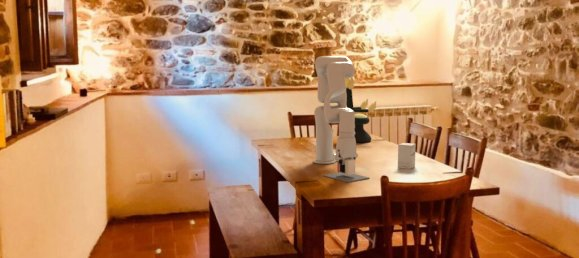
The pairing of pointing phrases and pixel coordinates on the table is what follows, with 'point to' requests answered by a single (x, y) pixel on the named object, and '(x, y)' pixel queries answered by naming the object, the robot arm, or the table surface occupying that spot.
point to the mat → (346, 177)
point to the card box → (347, 166)
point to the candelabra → (359, 118)
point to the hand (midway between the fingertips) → (346, 171)
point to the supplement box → (406, 155)
